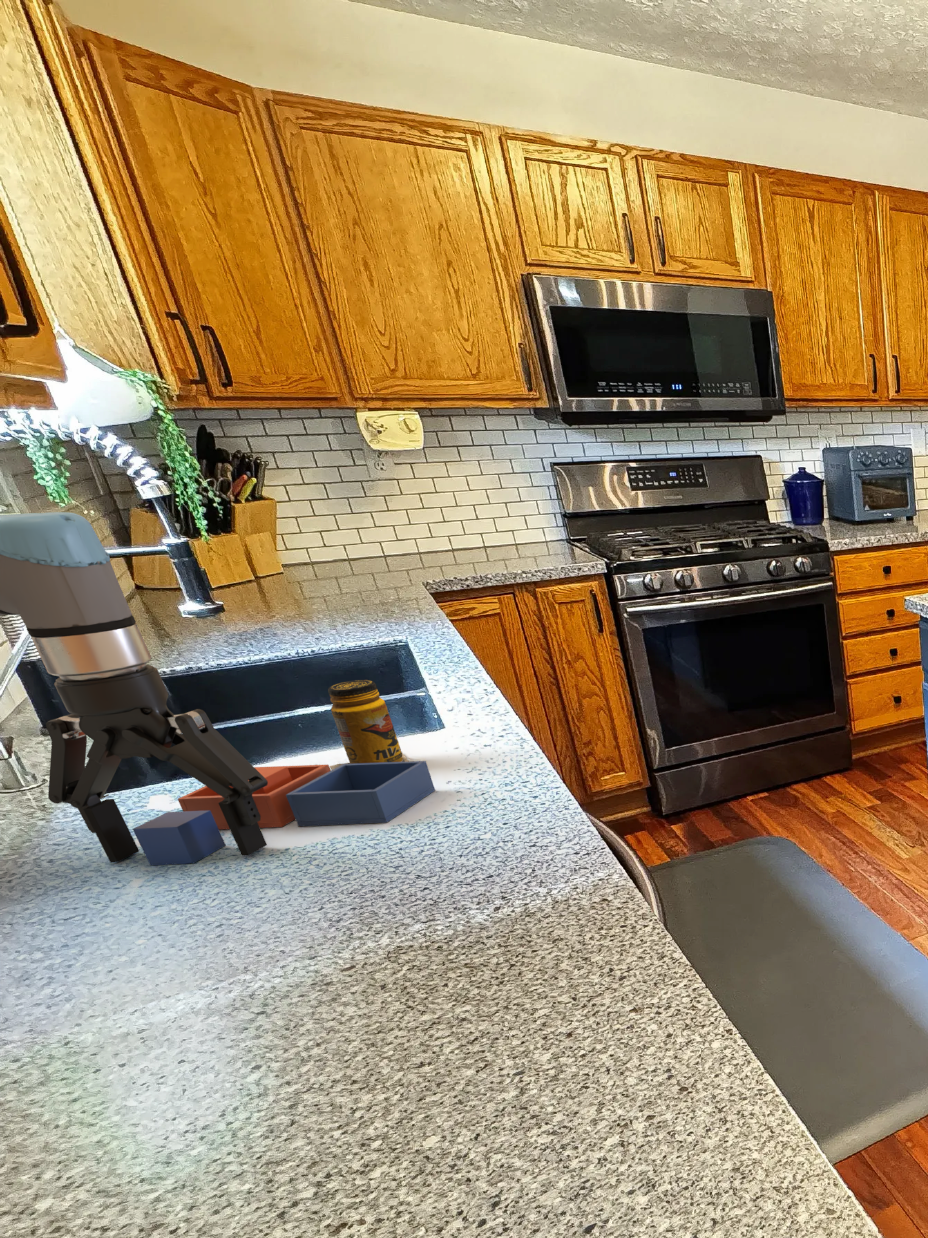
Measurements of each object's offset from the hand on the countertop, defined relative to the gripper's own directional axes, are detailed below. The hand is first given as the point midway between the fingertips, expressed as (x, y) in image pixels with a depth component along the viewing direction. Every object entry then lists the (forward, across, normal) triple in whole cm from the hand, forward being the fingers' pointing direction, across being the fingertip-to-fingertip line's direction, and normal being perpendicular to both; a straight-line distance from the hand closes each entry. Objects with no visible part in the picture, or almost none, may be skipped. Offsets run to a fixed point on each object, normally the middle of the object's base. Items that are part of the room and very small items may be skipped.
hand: (190, 854), depth 97 cm
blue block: (0, 0, 0) cm, 0 cm away
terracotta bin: (0, 0, -12) cm, 12 cm away
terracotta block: (0, 0, -12) cm, 12 cm away
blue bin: (0, -12, -12) cm, 17 cm away
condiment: (0, -3, -27) cm, 27 cm away
